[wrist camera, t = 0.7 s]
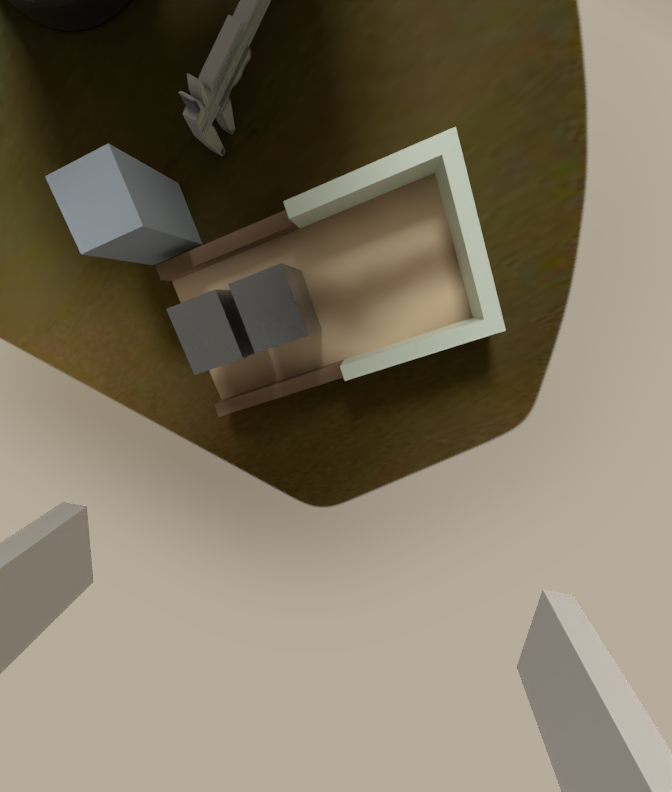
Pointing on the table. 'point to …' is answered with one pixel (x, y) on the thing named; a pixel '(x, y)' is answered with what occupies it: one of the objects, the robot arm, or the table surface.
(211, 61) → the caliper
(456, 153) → the tray
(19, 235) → the table surface
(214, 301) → the grey squarish block
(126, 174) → the grey block
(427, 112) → the table surface
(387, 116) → the table surface
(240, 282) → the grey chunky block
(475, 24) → the table surface
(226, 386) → the slot board
